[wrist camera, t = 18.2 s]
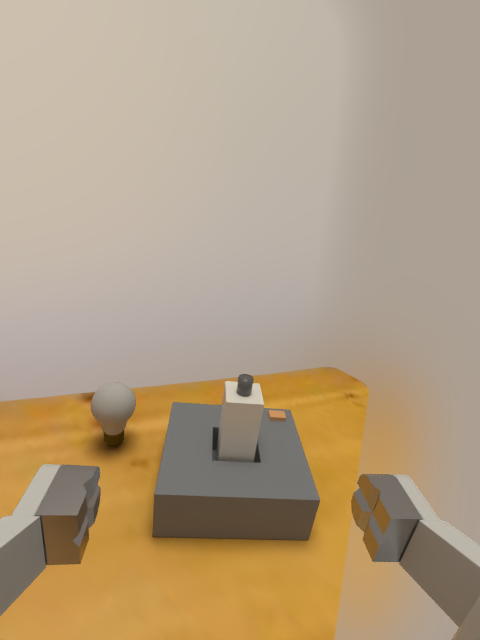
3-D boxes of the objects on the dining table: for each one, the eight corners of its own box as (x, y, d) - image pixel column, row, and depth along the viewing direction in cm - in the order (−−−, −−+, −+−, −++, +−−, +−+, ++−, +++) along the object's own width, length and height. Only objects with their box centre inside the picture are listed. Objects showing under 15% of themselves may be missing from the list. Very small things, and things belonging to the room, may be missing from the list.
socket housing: (152, 536, 37) (154, 490, 35) (170, 436, 52) (173, 398, 49) (308, 540, 39) (321, 496, 37) (282, 442, 54) (290, 406, 51)
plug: (215, 480, 42) (228, 387, 37) (215, 454, 46) (226, 367, 41) (249, 481, 43) (266, 390, 38) (246, 456, 47) (261, 370, 42)
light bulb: (143, 442, 50) (145, 385, 47) (110, 465, 46) (109, 404, 42) (117, 424, 53) (117, 370, 49) (83, 444, 48) (80, 386, 45)
